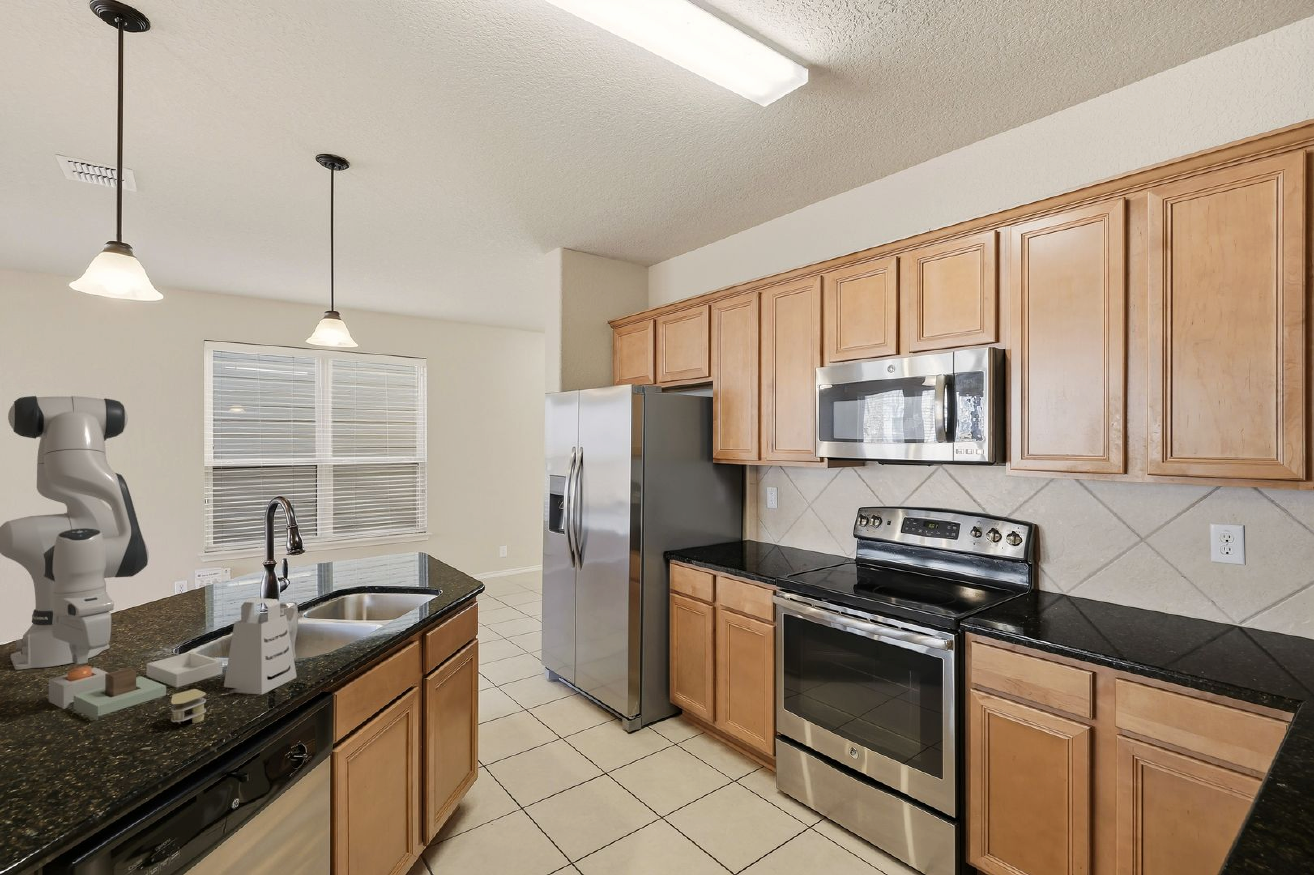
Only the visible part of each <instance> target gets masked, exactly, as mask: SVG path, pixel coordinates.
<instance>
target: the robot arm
mask: <svg viewBox="0 0 1314 875" xmlns="http://www.w3.org/2000/svg"><path fill="white" fill-rule="evenodd" d="M7 417H8V418H7V420H8V423H9V426H10V427H11V429H13V430H12V431H13V433H15V434H17V435H18V436H20V437H24V438H29V439H35V440H36V439H37V438H40V440H39V443H38V444H39V445H38V448H37V460H36V462H37V465H36V490H37V492H38V493H39V494H40V495H41V496H42V497H44V498H47V499H48V500H51V501H55V502H57V503H62V504H64V505H65V506H66V512H64V513H54V514H43V515H42V514H40V515H29V516H25V517H20V518H16V519H12V520H7V521H5V522H4V523H3V524H1V525H0V555H2V556H3V557H5V558H7V559H10V560H12V561H14V562H15V563H18V564H19V565H21V566H22V567H23V568H24V569H25V570H26V571H27V572H28V573H29V575H30V577H31V580H32V581H33V582H32V583H33V587H34V596H35V598H34V599H35V600H34V601H35V609H33V610H32V611H33V612H32V615H31V626H30V627H29V628H28V629H27V631H25V632H24V634H23V635H22V638H20V639H16V640H15V644H14V645H15V649H17V650H18V649H22V650H19V651H16V652H14V653H11V654H10V661H11V662H12V665H13V668H14V670H15V671H17V670H18V671H19V670H26V669H35V668H49V667H58V666H61V665H62V666H63V665H68V664H69V665H70V664H72V663H73V664H74V663H76V664H78V665H81V664H86V663H88V661H89V660H88V659H90V658H93V657H95V656H97V655H99V654H101V652H103V651H106V650H108V649H110V644H109V643H110V641H111V632H112V614H111V611H113V610H114V609H115V608H114V607H115V605H114V604H115V602H114V601H113V599H112V598H110V596H109V594H108V592H107V584H106V583H107V582H106V581H105V579H110V578H131V577H134V576H136V575H138V574H139V573H140V572H142V570H145V568H146V567H147V566H148V563H149V558H150V554H149V549H148V546H147V544H146V542H145V540H144V537H143V534H142V531H141V528H140V524H139V521H138V517H137V513H136V510H135V506H134V503H133V500H132V496H131V494H130V493H131V492H130V490H129V487H128V484H127V481H126V480H125V478H124V476H123V475H122V474H120V473H117V472H115V471H114V470H113V469H112V468H111V467H110V465H109V463H108V461H107V454H106V443H105V441H107V439H112V438H115V437H118V436H120V435H121V434H123V433H124V431H125V430H124V429H125V428H126V427H127V424H128V418H129V417H128V413H127V411H126V409H125V406H124V404H122V402H120V401H119V400H116V399H111V398H104V399H102V398H96V397H90V396H76V395H75V396H73V395H71V396H39V397H38V396H36V395H31V396H22V397H18V398H17V399H15V401H13V404H12V405H11V407H10V409H9V411H8V416H7ZM103 501H104V502H103ZM105 503H106V504H108V505H109V506H110V507H108V506H107V505H106V504H105Z"/></svg>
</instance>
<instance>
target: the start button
mask: <svg viewBox="0 0 1314 875" xmlns="http://www.w3.org/2000/svg"><path fill="white" fill-rule="evenodd" d="M92 668H93V667H92V666H90V665H89V666H79V667H75V668H73V669H70V670H68V671H67V674H68V681H70V682H72V681H76V680H79V679H83V678H87V677H91V676H92Z"/></svg>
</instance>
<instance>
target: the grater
mask: <svg viewBox="0 0 1314 875" xmlns="http://www.w3.org/2000/svg"><path fill="white" fill-rule="evenodd" d="M280 603H281V602H280V601H279V599H278V598H274V599H273V598H259V597H257V598H254V599H250V600H247V601H244V602H243V603H242V605H241V606H240V608H241V609H240V611H241V612H240V617H241V618H240V619H239V620H237V621H235V622H234V623H233V629H232V634H231V636H232V637H231V642H230V647H229V652H228V658H227V665H226V671H225V676H224V678H225V679H224V682H223V688H232V689H230V690H226V693H239V694H248V695H249V694H250V695H260V696H261V695H265V694H266V693H268V692H270V691H272V690H274V689H275V688H278V687H280V686H282V685H284V684H286V683H288V682H290V681H292V680H294V679H296V678H297V676H298V675H297V670H296V665H295V658H293V652H292V646H291V640H290V634H289V628H288V623H287V617H286V615H280ZM255 604H265V606H266V608H267V613H257V614H255ZM267 621H268V622H267ZM280 634H282V635H280ZM275 636H276V637H277V639H274V637H275ZM279 636H280V638H278V637H279ZM270 638H273V639H270ZM283 651H284V653H283V654H282V653H281V652H283ZM278 653H279V654H278ZM273 655H274V658H272V657H271V656H273ZM276 655H278V656H277V657H275V656H276ZM270 659H271V660H270ZM273 676H275V677H274V678H272V679H268V677H273Z"/></svg>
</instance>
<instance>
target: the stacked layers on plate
mask: <svg viewBox="0 0 1314 875" xmlns="http://www.w3.org/2000/svg"><path fill="white" fill-rule="evenodd" d="M206 695H207V693H206V692H204V691H202V690H199V689H196V688H193V689H192V688H191V689H189V690H185V691H182V692H178V693H173V694H172V697H171V701H170V703H171V706H170V711H171V718H170V721H171V722H172V723H176V722H177V723H178V724H179V725H181V722H184V721H187V720H189V721H192V724H197V723H200V722H203V721H204V719H205V713H206V712H207V708H205V703H206V702H207V699H206V698H205V696H206Z"/></svg>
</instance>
